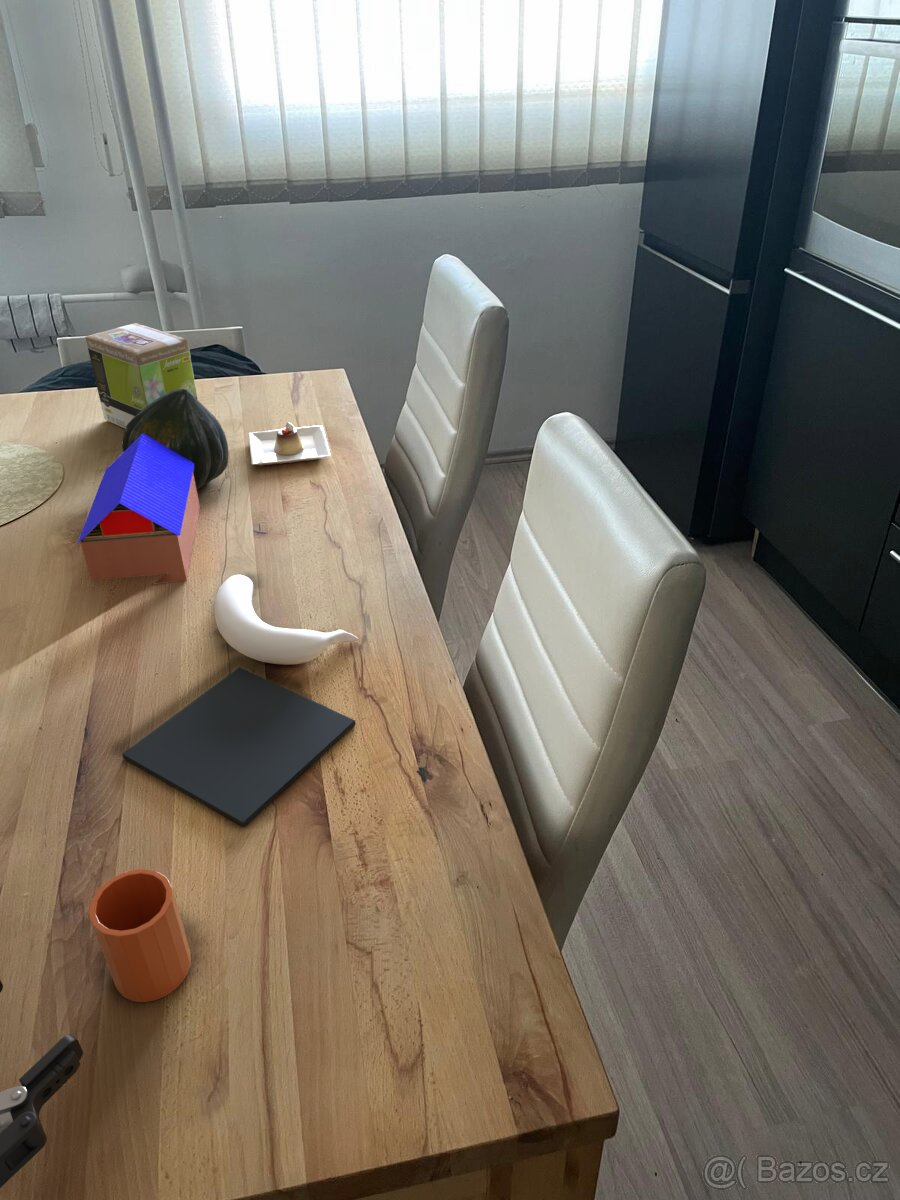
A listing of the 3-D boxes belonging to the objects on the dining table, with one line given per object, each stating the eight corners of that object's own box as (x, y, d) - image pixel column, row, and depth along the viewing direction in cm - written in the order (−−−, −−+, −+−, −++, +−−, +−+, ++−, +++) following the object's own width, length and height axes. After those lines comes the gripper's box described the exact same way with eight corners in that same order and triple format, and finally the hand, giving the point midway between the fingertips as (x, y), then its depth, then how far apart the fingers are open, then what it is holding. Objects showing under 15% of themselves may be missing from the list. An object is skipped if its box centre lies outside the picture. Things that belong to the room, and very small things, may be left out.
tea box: (204, 424, 154) (189, 338, 146) (153, 444, 148) (135, 354, 140) (152, 402, 163) (135, 319, 154) (102, 420, 156) (81, 334, 148)
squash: (87, 465, 130) (136, 393, 122) (140, 427, 142) (188, 359, 134) (166, 532, 133) (220, 466, 125) (212, 488, 145) (263, 426, 137)
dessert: (252, 470, 140) (248, 441, 137) (249, 438, 149) (245, 411, 147) (331, 462, 142) (328, 433, 139) (322, 431, 152) (320, 403, 149)
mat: (123, 758, 89) (121, 753, 88) (240, 670, 100) (239, 666, 99) (243, 827, 81) (242, 822, 81) (355, 724, 92) (355, 720, 92)
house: (90, 590, 113) (66, 507, 107) (116, 512, 130) (96, 436, 123) (189, 581, 114) (171, 499, 108) (202, 505, 131) (188, 429, 124)
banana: (205, 594, 112) (321, 570, 116) (235, 693, 98) (366, 661, 102) (199, 561, 109) (318, 537, 113) (229, 658, 95) (364, 627, 99)
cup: (98, 977, 69) (72, 911, 65) (156, 923, 73) (135, 857, 69) (149, 1016, 67) (126, 949, 62) (206, 958, 71) (188, 891, 66)
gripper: (-182, 1302, 44) (92, 1033, 55) (-314, 1133, 51) (-45, 923, 62) (-125, 1357, 49) (119, 1097, 60) (-254, 1195, 55) (-12, 988, 66)
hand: (35, 1009), depth 61 cm, fingers open, 8 cm apart
